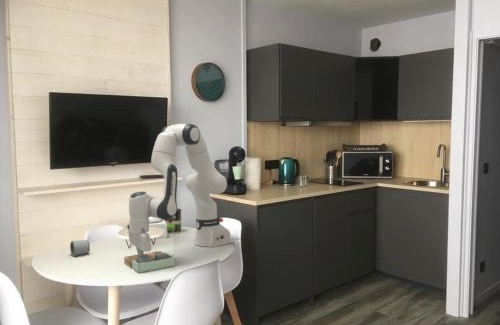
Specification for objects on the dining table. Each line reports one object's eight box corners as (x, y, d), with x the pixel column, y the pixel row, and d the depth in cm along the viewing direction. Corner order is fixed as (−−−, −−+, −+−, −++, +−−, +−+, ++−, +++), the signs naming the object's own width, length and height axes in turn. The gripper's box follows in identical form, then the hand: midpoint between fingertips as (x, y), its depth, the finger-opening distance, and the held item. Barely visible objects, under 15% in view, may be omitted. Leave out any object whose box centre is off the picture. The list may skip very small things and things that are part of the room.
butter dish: (167, 238, 253) (166, 211, 252) (135, 240, 248) (134, 213, 247) (164, 231, 270) (163, 206, 269) (134, 234, 265) (133, 208, 264)
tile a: (165, 252, 201) (167, 253, 199) (165, 263, 201) (167, 264, 199) (154, 254, 198) (157, 255, 196) (155, 264, 199) (157, 266, 196)
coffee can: (178, 234, 262) (177, 211, 261) (162, 233, 264) (161, 211, 263) (183, 230, 272) (183, 208, 271) (168, 230, 274) (167, 208, 273)
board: (160, 256, 214) (160, 250, 214) (168, 261, 206) (168, 255, 205) (124, 263, 204) (124, 256, 204) (131, 268, 196) (130, 261, 196)
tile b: (146, 260, 199) (147, 255, 198) (150, 267, 195) (151, 261, 194) (136, 262, 196) (136, 257, 195) (139, 269, 193) (140, 263, 191)
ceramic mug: (90, 254, 220) (90, 239, 219) (74, 257, 215) (73, 242, 214) (84, 250, 228) (83, 236, 228) (68, 253, 223) (67, 238, 223)
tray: (167, 261, 205) (167, 253, 205) (175, 266, 198) (174, 257, 198) (131, 268, 196) (131, 259, 196) (138, 273, 189) (138, 264, 188)
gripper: (154, 230, 192) (155, 260, 193) (138, 222, 209) (139, 250, 210) (140, 232, 189) (141, 263, 189) (125, 224, 206) (126, 253, 206)
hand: (140, 256), depth 200 cm, fingers closed
